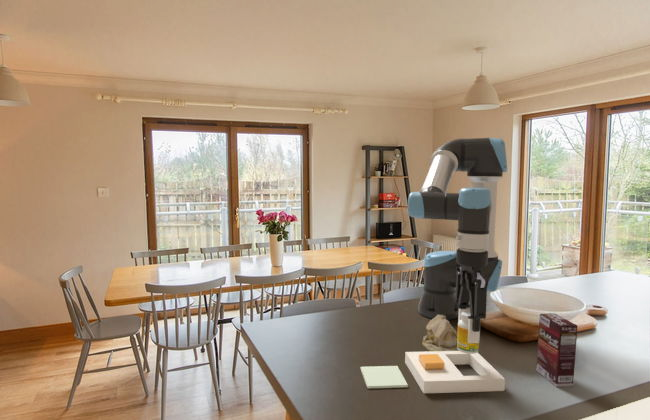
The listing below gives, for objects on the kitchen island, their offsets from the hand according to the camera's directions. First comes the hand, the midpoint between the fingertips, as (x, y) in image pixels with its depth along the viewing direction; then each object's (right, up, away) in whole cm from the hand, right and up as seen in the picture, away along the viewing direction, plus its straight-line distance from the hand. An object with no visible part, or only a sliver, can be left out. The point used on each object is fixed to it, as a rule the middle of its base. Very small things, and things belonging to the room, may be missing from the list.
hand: (468, 337), depth 106 cm
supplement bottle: (0, -4, 0) cm, 4 cm away
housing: (-4, -10, 0) cm, 11 cm away
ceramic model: (-1, -9, +18) cm, 20 cm away
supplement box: (+22, -11, 0) cm, 24 cm away
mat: (-22, -10, -1) cm, 24 cm away
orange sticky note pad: (-10, -10, 0) cm, 14 cm away
